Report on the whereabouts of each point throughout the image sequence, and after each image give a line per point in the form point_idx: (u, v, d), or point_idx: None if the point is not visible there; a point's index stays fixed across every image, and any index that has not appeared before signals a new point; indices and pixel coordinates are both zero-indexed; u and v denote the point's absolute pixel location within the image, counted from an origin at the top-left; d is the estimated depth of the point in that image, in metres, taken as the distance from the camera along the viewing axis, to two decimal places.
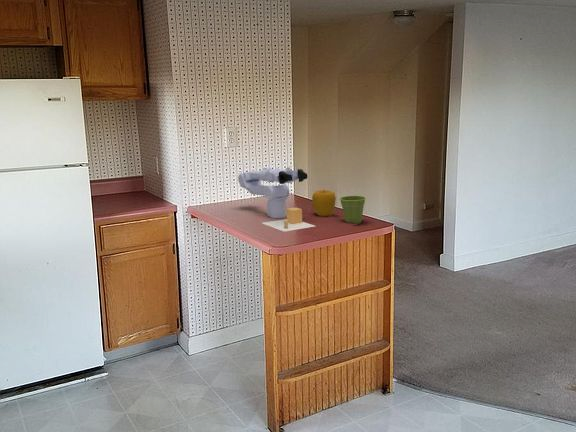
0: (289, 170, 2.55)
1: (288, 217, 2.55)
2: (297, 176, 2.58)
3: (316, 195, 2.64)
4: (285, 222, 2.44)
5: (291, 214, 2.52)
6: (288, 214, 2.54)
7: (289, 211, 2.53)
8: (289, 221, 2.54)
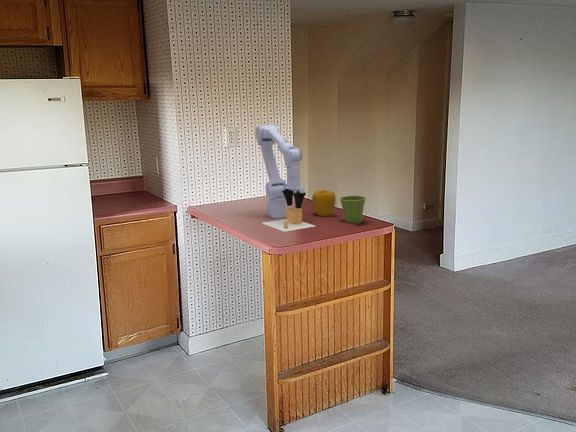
0: (289, 188, 2.51)
1: (288, 217, 2.55)
2: None
3: (316, 195, 2.64)
4: (285, 222, 2.44)
5: (291, 214, 2.52)
6: (288, 214, 2.54)
7: (289, 211, 2.53)
8: (289, 221, 2.54)
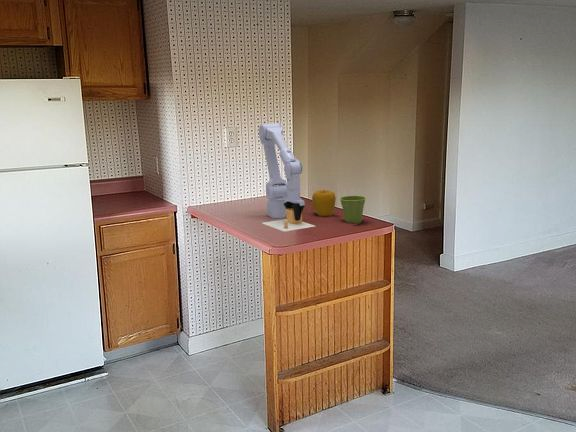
0: None
1: (288, 217, 2.55)
2: None
3: (316, 195, 2.64)
4: (285, 222, 2.44)
5: (291, 214, 2.52)
6: (288, 214, 2.54)
7: (289, 211, 2.53)
8: (289, 221, 2.54)
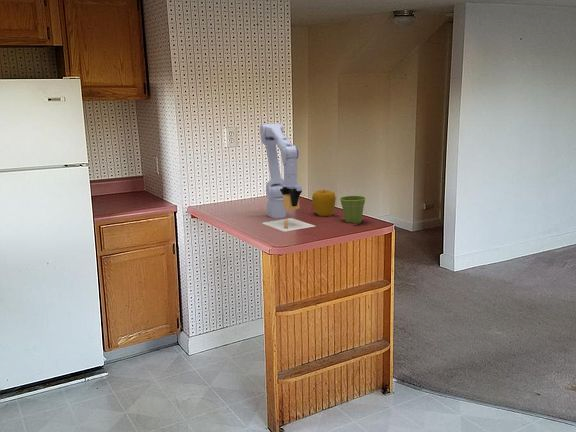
0: (286, 186, 2.47)
1: (285, 203, 2.49)
2: None
3: (316, 195, 2.64)
4: (285, 222, 2.44)
5: (287, 200, 2.47)
6: (285, 200, 2.49)
7: (286, 197, 2.48)
8: (286, 207, 2.49)
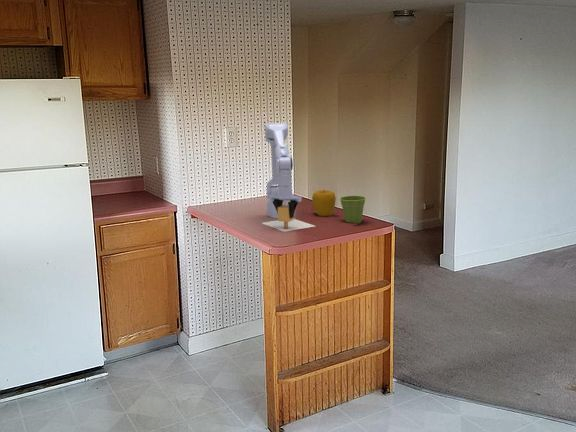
0: (283, 198, 2.40)
1: (281, 216, 2.43)
2: None
3: (316, 195, 2.64)
4: (285, 222, 2.44)
5: (285, 212, 2.41)
6: (282, 213, 2.42)
7: (283, 209, 2.42)
8: (282, 220, 2.43)
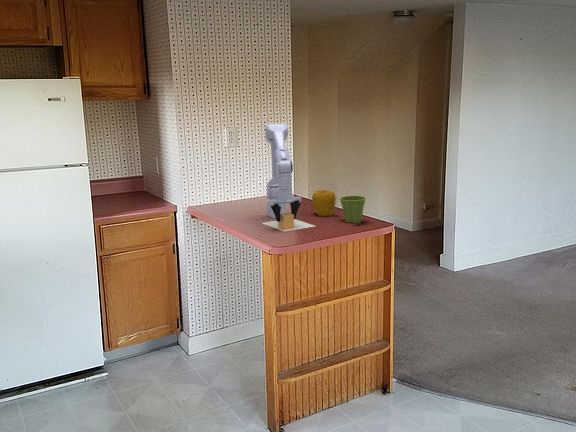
0: (289, 201, 2.41)
1: (287, 223, 2.43)
2: (293, 199, 2.46)
3: (316, 195, 2.64)
4: None
5: (291, 219, 2.43)
6: (288, 220, 2.43)
7: (289, 216, 2.42)
8: (288, 227, 2.43)
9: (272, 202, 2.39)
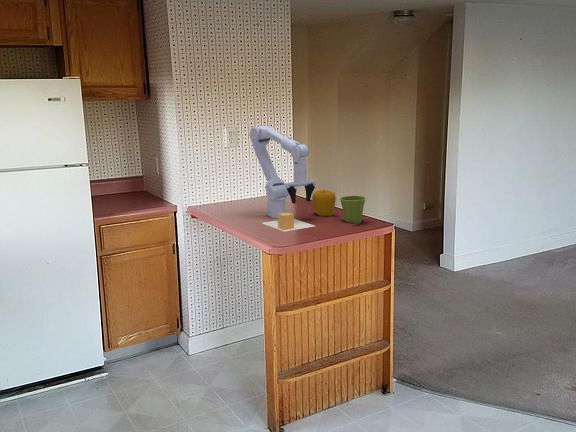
0: (304, 184, 2.53)
1: (287, 223, 2.43)
2: None
3: (316, 195, 2.64)
4: None
5: (291, 219, 2.43)
6: (288, 220, 2.43)
7: (289, 216, 2.42)
8: (288, 227, 2.43)
9: (288, 185, 2.51)
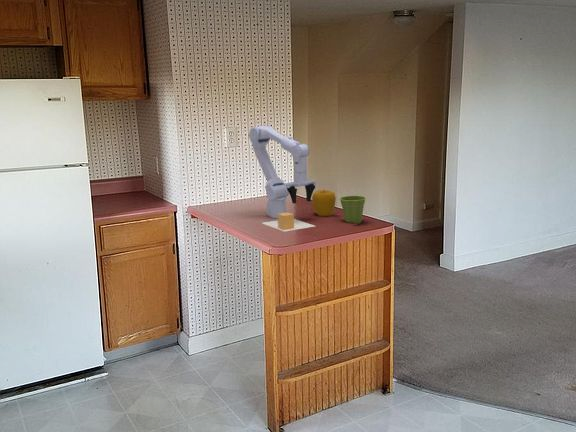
0: None
1: (287, 223, 2.43)
2: (308, 182, 2.58)
3: (316, 195, 2.64)
4: None
5: (291, 219, 2.43)
6: (288, 220, 2.43)
7: (289, 216, 2.42)
8: (288, 227, 2.43)
9: (288, 184, 2.51)
